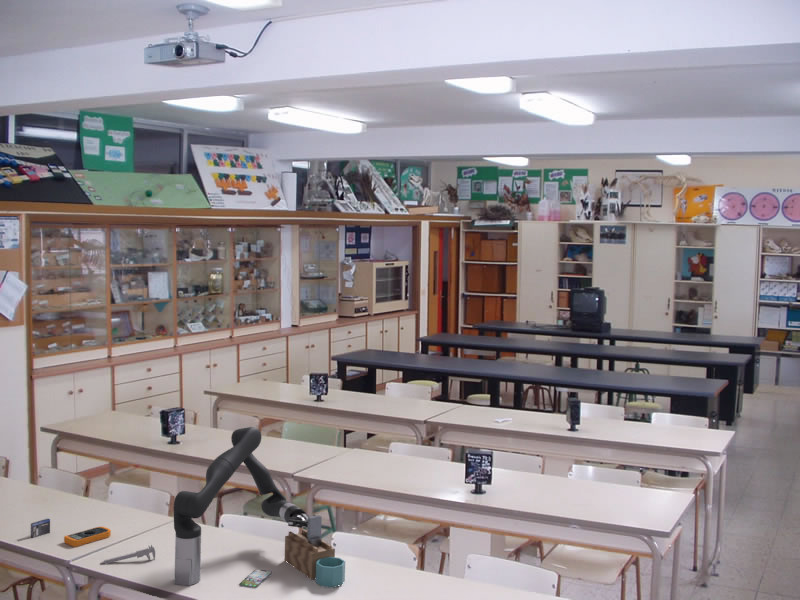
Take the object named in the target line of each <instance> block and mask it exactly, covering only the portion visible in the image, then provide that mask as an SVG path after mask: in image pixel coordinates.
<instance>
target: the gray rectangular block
mask: <svg viewBox="0 0 800 600" xmlns="http://www.w3.org/2000/svg"><path fill="white" fill-rule="evenodd" d="M315 515H316V514H315ZM309 516H310V515H309ZM306 530H307V537H308V542H309V543H310V544H312V545H313V546H319V545H321V543H322V540H323V539H322V516H321V514H317V515H316V516H313V515H311V516H310V517H308V528H307V527H306Z"/></svg>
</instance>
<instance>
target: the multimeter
mask: <svg viewBox="0 0 800 600" xmlns="http://www.w3.org/2000/svg"><path fill="white" fill-rule="evenodd" d="M111 531H112V530H111V529H110V528H109V527H105V526H96V527H93V528H89V529H86V530H82V531H79V532H75V533H71V534H68V535H64V537H63V542H64V544H65V545H68V546H71V547H73V548H78V547H80V546H84V545H86V544H90V543H93V542H97V541H100V540H103V539H107V538H110V537H111V536H112V535H111V534H112V532H111Z"/></svg>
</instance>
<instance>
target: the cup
mask: <svg viewBox="0 0 800 600" xmlns="http://www.w3.org/2000/svg"><path fill="white" fill-rule="evenodd" d="M345 581H346V560H344V559H342V558H340V557H336V556H335V557H326V558H321V559H319V560H318V561H317V562H316V579H315V584H317V585H318V584H319V585H318V586H320V587H321V586H324V587H323V588H331V587H333V588H336V587H335V586H337V587H339V586H338V585H341V586H343V585H344V583H345ZM343 582H344V583H343ZM342 584H343V585H342Z"/></svg>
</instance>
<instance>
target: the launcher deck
mask: <svg viewBox="0 0 800 600" xmlns="http://www.w3.org/2000/svg"><path fill="white" fill-rule="evenodd" d="M335 553H336V549H335V547H334V546H333V545H332V544H330V543H328V542H326V541H325V540H323V539H322V543H321V545H319V546H313V545H312V544H310V543H309V542H308V537H307V529H305V528H302V529H301V532H299V533H294V532H293V531H288V535H285V537H284V558H283V559H284V560H285V561H284V560H283V561H284V562H286V561H287V562H288V563H289V565H290V564H291V565H292V566H291V565H290V566H291V567H293V566H294V567H295V568H294V567H293V568H294V569H296V570H297V569H298V570H299V572H300V571H301V572H302V573H301V572H300V573H301V574H303V573H304V574H305V576H306V577H307V576H308V577H307V578H309V579H310V578H311V579H310V580H315V579H314V578H316V562H317V561H318V560H319V559H321V558H326V557H336V554H335ZM287 562H286V563H287ZM288 563H287V564H288ZM298 570H297V571H298ZM304 574H303V575H304Z"/></svg>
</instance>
